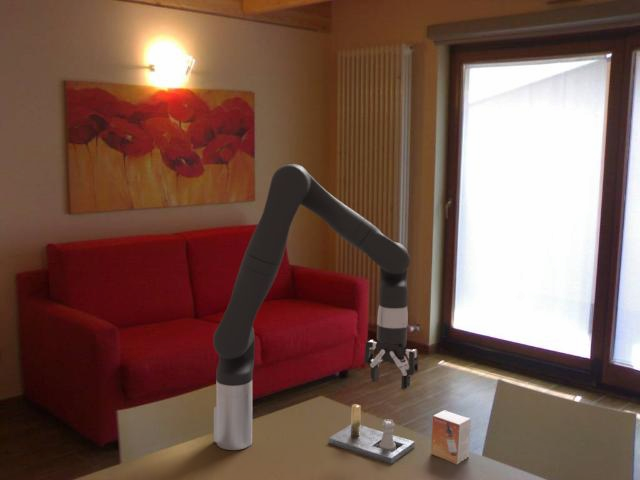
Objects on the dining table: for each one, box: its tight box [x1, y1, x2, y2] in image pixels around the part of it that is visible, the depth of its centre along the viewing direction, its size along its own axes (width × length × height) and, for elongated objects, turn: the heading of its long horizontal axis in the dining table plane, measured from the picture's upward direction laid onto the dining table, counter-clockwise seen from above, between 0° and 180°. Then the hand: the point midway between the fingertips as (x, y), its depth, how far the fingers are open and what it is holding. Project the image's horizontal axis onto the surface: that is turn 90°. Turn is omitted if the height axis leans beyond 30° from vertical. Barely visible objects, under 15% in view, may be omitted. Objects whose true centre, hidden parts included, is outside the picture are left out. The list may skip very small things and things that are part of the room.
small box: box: [430, 409, 472, 465], centre depth 174 cm, size 8×6×10 cm
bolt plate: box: [328, 403, 416, 465], centre depth 179 cm, size 19×12×10 cm, turn 54°
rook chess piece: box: [378, 418, 397, 452], centre depth 177 cm, size 4×4×8 cm
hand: (390, 384), depth 175 cm, fingers open, 8 cm apart
